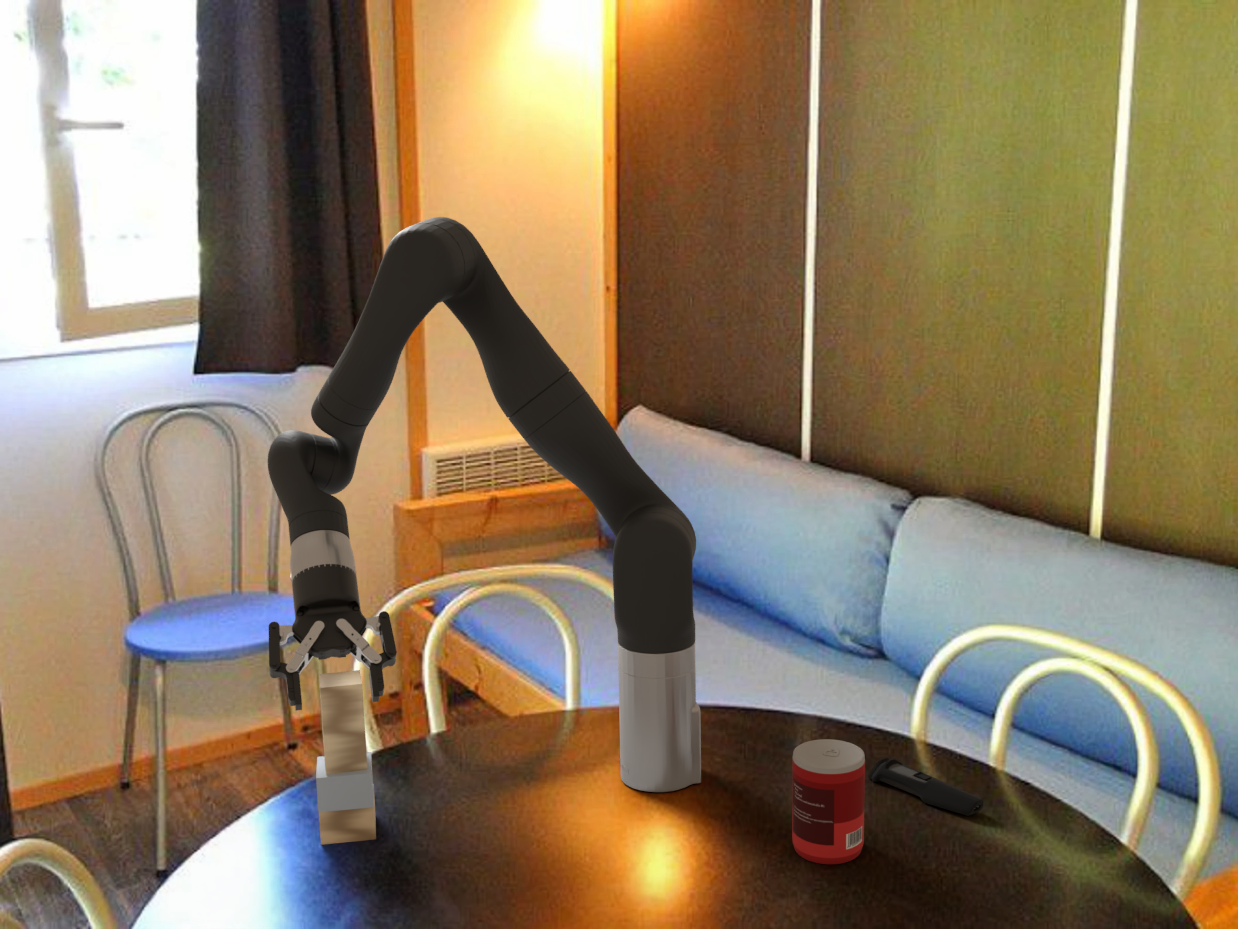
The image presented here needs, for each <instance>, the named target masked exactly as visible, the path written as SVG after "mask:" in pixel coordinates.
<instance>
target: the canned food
mask: <svg viewBox="0 0 1238 929" xmlns="http://www.w3.org/2000/svg"><path fill="white" fill-rule="evenodd" d="M791 770H792V774H791V777H792V779H791V780H792V783H791V784H792V785H791V788H792V790H791V793H792V794H791V795H792V796H791V797H792V798H791V800H792V803H791V804H792V807H791V809H792V812H791V813H792V814H791V815H792V820H791V822H792V823H791V824H792V826H791V827H792V829H791V830H792V831H791V832H792V834H791V835H792V838H791V839H792V845H793V848H794V850H795V852H796V854H798V856H799V857H801V858H802V859H804V860H805V861H806V860H807V861H809V862H811V863H815V864H821V865H840V864H845V863H848V862H851V861H853V860H855V859H856V858H858V857H859V856H860V854H862V850H863V846H864V844H865V843H864V842H865V798H866V797H865V796H866V794H865V793H866V791H865V789H866V788H865V787H866V759H865V752H864V750H863V749H862V748H861V747H860V746H858V745H856V744H855V743H854V744H853V743H852V742H848V741H844V740H839V739H829V738H828V739H827V738H825V739H824V738H823V739H814V740H809V741H805V742H803V743H801V744H799V745H797V746H796V747H795V748H794V749H793V752H792V768H791Z"/></svg>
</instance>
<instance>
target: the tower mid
mask: <svg viewBox="0 0 1238 929" xmlns="http://www.w3.org/2000/svg"><path fill="white" fill-rule="evenodd" d="M366 753H367V770H360V771H352V772H343V773H334V774H326V770H325V760H324V755H322V756H316V771H315V772H316V774H315V782H316V783H315V784H316V798H317V800H316V801H317V812H318V814H319V812H329V811H339V810H350V809H360V808H370V807H374V798H375V797H374V798H373V784H374V783H373V782H374V780H373V779H374V778H373V767H372V766H373V764H372V762H373V761H372V752H371V751H369V752H368V751H366Z"/></svg>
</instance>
